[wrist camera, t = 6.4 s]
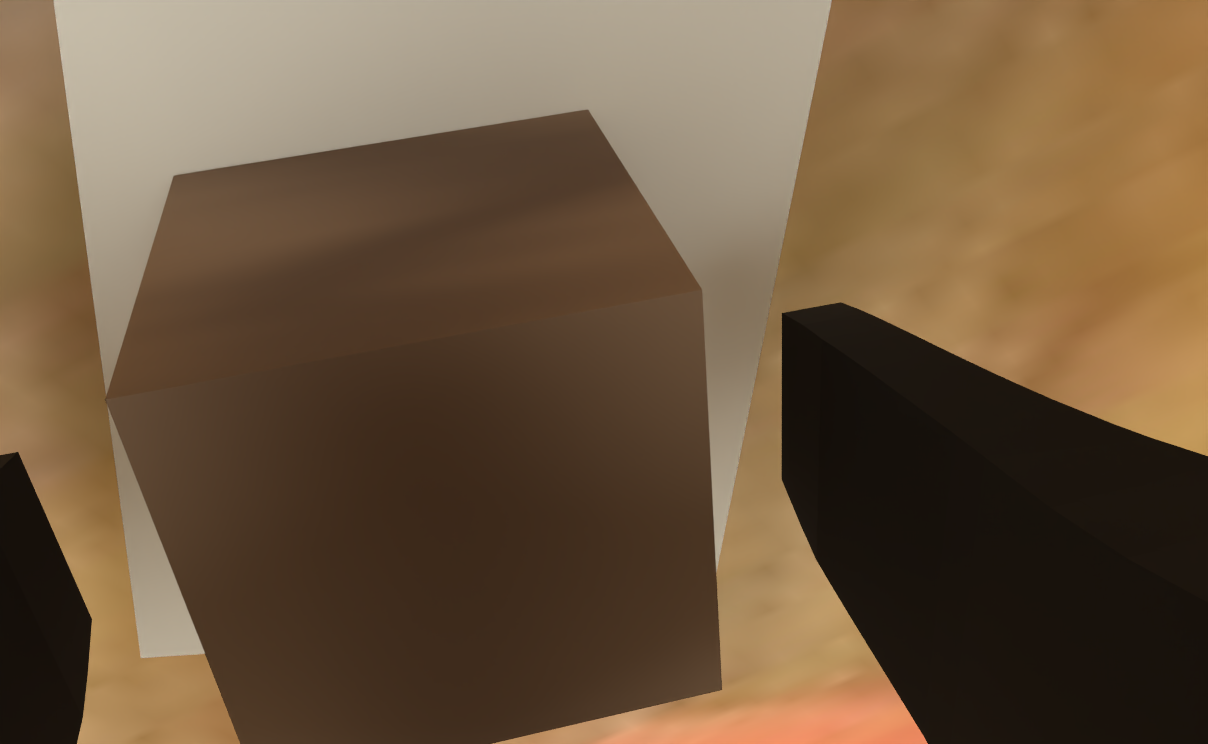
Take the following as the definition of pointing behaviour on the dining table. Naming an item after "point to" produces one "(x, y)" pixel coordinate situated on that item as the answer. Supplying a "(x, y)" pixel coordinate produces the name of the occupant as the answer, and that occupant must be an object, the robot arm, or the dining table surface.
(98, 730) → the dining table surface
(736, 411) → the tower top block
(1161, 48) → the dining table surface
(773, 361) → the dining table surface
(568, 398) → the walnut cube
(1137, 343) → the dining table surface
